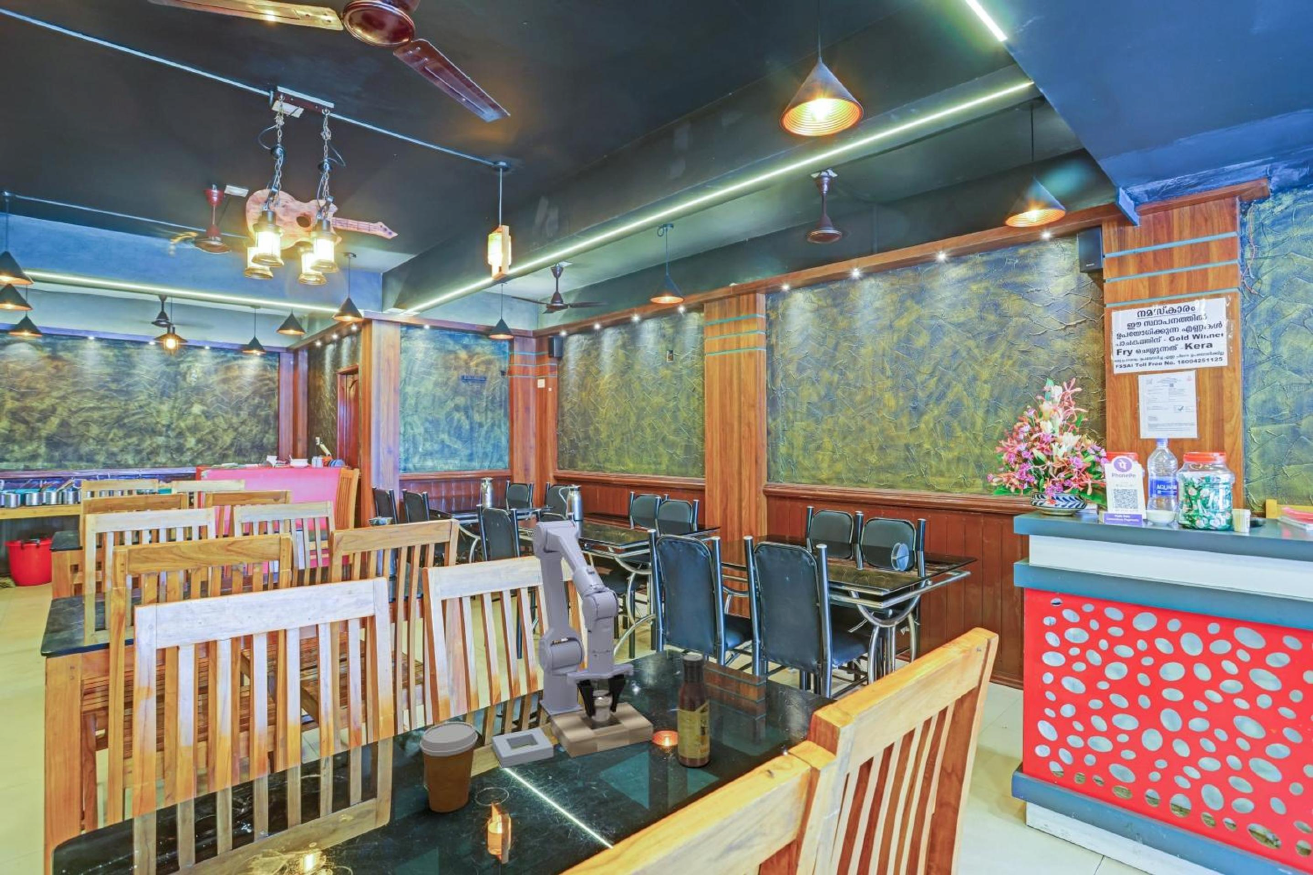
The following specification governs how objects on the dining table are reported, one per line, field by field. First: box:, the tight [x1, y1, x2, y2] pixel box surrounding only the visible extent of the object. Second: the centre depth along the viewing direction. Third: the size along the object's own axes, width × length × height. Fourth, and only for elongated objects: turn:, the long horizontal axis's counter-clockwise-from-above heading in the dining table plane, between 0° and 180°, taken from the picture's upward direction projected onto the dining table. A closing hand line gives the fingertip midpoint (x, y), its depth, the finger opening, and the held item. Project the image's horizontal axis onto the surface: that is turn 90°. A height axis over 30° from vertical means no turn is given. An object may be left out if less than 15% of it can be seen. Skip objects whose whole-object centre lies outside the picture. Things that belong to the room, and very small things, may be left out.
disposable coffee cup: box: [419, 721, 479, 813], centre depth 109 cm, size 10×10×12 cm
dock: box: [550, 701, 654, 758], centre depth 135 cm, size 14×18×3 cm
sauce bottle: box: [676, 654, 711, 768], centre depth 124 cm, size 7×6×20 cm
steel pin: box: [591, 689, 613, 730], centre depth 135 cm, size 5×5×8 cm
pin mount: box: [491, 727, 554, 769], centre depth 128 cm, size 10×10×2 cm
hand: (600, 713), depth 135 cm, fingers closed on steel pin, 5 cm apart
